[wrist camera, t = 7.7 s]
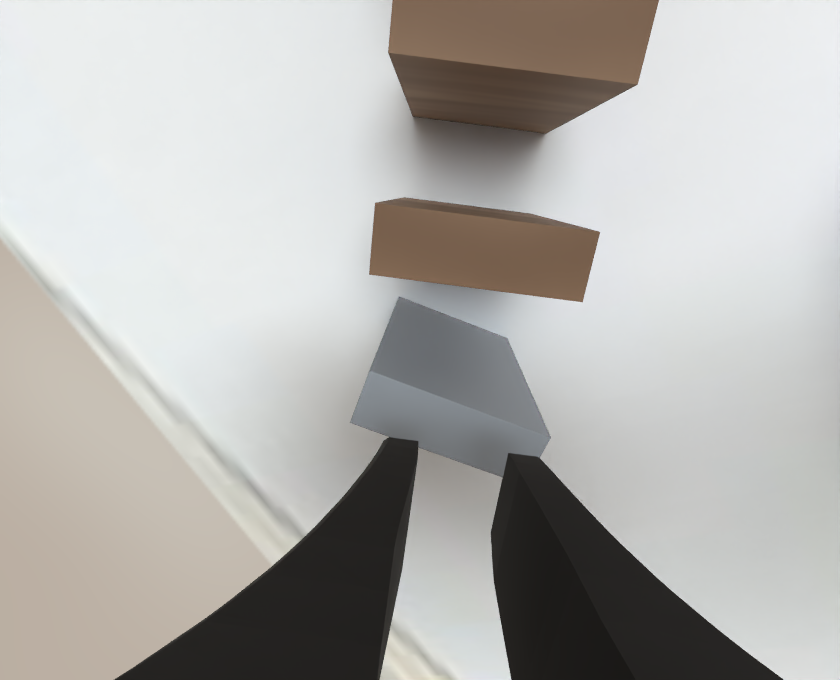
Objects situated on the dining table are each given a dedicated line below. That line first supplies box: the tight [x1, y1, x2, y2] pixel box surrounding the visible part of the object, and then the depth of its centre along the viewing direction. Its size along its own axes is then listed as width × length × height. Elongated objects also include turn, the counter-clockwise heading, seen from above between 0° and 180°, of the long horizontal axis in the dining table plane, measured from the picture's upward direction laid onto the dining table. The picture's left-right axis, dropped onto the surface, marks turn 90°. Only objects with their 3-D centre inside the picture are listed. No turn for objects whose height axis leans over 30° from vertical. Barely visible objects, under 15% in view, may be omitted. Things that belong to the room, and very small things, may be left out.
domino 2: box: [369, 197, 600, 302], centre depth 14 cm, size 2×5×8 cm, turn 83°
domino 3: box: [350, 297, 551, 477], centre depth 15 cm, size 2×5×8 cm, turn 69°
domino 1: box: [388, 0, 659, 133], centre depth 12 cm, size 2×5×8 cm, turn 83°
